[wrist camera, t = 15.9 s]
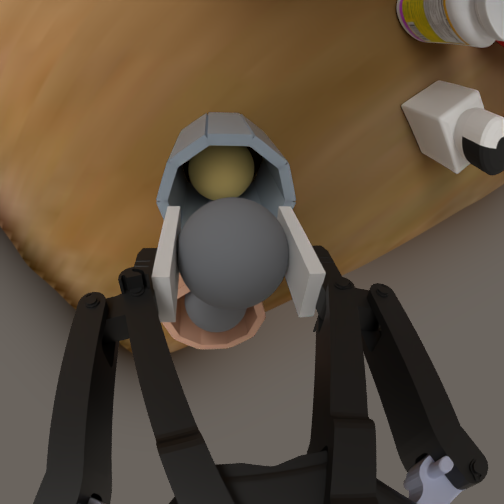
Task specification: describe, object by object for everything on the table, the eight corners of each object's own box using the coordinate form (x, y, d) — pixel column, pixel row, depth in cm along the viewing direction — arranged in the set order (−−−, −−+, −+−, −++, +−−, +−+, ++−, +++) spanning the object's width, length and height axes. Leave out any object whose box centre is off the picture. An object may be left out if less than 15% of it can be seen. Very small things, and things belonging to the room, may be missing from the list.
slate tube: (171, 112, 25) (152, 135, 17) (275, 115, 27) (305, 138, 19) (173, 201, 31) (161, 257, 23) (266, 201, 32) (287, 255, 24)
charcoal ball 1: (183, 265, 20) (177, 333, 15) (179, 180, 16) (165, 234, 12) (271, 264, 21) (290, 330, 16) (282, 182, 17) (312, 234, 12)
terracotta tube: (165, 221, 32) (153, 280, 24) (255, 221, 34) (271, 278, 25) (172, 287, 38) (166, 349, 29) (249, 285, 39) (260, 346, 31)
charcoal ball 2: (178, 271, 30) (186, 271, 24) (234, 267, 32) (254, 266, 26) (183, 329, 30) (193, 342, 24) (239, 322, 32) (259, 333, 26)
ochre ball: (192, 185, 30) (185, 212, 25) (192, 130, 27) (184, 145, 22) (249, 186, 31) (254, 213, 26) (254, 131, 27) (260, 147, 23)
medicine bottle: (456, 126, 29) (524, 161, 19) (420, 153, 31) (487, 196, 21) (437, 78, 25) (514, 101, 15) (399, 104, 27) (474, 134, 17)
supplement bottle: (432, -4, 19) (515, -7, 8) (441, 44, 22) (525, 58, 12) (388, -13, 19) (471, -28, 8) (398, 40, 23) (485, 46, 12)
